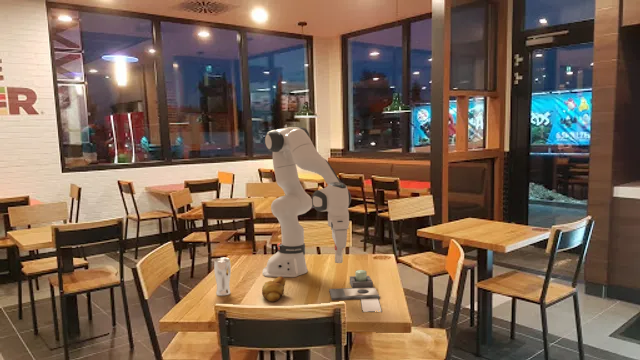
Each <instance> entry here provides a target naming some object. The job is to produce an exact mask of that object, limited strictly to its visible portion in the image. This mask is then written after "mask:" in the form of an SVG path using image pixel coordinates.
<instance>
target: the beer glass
mask: <svg viewBox="0 0 640 360" xmlns="http://www.w3.org/2000/svg"><path fill="white" fill-rule="evenodd" d="M231 265H232V264H231V259H230V258H228V257H220V258H216V259H214V265H213V266H214V268H213V269H214V270H213V272H214V277H215V283H216V292H215V294H216V296H218V297H226V296H229V295H230V294H231V287H230V281H231V274H232V273H231V270H232V269H231V268H232V267H231Z"/></svg>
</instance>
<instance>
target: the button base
mask: <svg viewBox="0 0 640 360" xmlns="http://www.w3.org/2000/svg"><path fill="white" fill-rule="evenodd" d="M349 284H350V286H351V287H350V288H366V287H374V282H373V280H372V278H371V276H370V275H367V281H358V282H357V281H356V280H355V275H353V276H352V275H351V276H349Z"/></svg>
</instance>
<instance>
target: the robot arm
mask: <svg viewBox="0 0 640 360" xmlns="http://www.w3.org/2000/svg"><path fill="white" fill-rule="evenodd" d="M264 143H265V147H266V149H267V150H268V151H269V152H272V166H273V170H274V175H275V182H276V184H277V186H278V187H279V188H281V189H282V191H283V192H284V194H285V195H282V196H278V197H276V198H275V199H274V200H272V202H271V204H270V210H271V213H272V215H273V216H274V217H275V218H276V219H277V220H278V223H279V225H280V229H281V230H280V231H281V243H280V242H278V243H277V245H276V247H277V252H276V253H275V252H274V254H273V255H271V257H268V260H267V263H266V266H265V267H264V268H263V269H262V276H264V277H268V278H269V277H270V278H271V277H274V278H277V277H280V276H282V277H284V278H296V277H298V276H301V275H305V274H307V273H308V272H309V271H308V267H307V263H306V256H305V255H306V244H305V229H304V227H303V226H302V225H301V224H300V222H299V219H298V216H300V215H301V216H302V215H304V214H306V213H307V212H309V211H310V210H311V209H312V207H313V208H314V210H316V211H317V212H327V226H328V227H330V230H331V237H332V240H333V242H334V246H335V245H336V247H337V255H338V256H341V255H342V248H343V249H346V247H347V239H348V230H349V228H350V227H349V226H350V213H349V207H350V205H351V202H352V195H351V192H350V190H349V189H348V186H347V185H346V184H345V183H343V182H342V181H341V179H340V178H339V176H338V175H337V173H336V171H335V170H334V168H333V167H332V165H331V164H330V162H328V160H326V159H325V158H324V157H323V156H322V155H321V154H320V153H319V152H318V150H317V148H316V147H315V146H314V145H315V144H313V141H312V140H311V138H310V132H309V131H308V129H307V128H306V127H303V126H295V127H294V126H291V127H290V126H289V127H284V128H278V129H272V130H269V131H267V132H266V133H265V136H264ZM297 167H298V168H300V169H301V170H304V171H308V172H312V173H315V174H317V175H319V176H320V177H321V178H323V180H324V182H325V183H326V185H327V186H325V187H324V188H320V189H317V190H315V191H314V192H313V193H312V196H310V195H309V194H308V193H307V192H306V191H305V189H304V187H303V186H302V184H301V181H300V178H299V173H298V170H297Z"/></svg>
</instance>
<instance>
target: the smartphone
mask: <svg viewBox="0 0 640 360" xmlns="http://www.w3.org/2000/svg"><path fill="white" fill-rule="evenodd" d="M359 300H360V306H361V312H362V313H364V312H375V311H376V310H377V311H378V312H381V313H383V308H382V305H381V301H380V298H376V299H359ZM362 310H363V311H362ZM379 310H380V311H379ZM377 311H376V312H377Z"/></svg>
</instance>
